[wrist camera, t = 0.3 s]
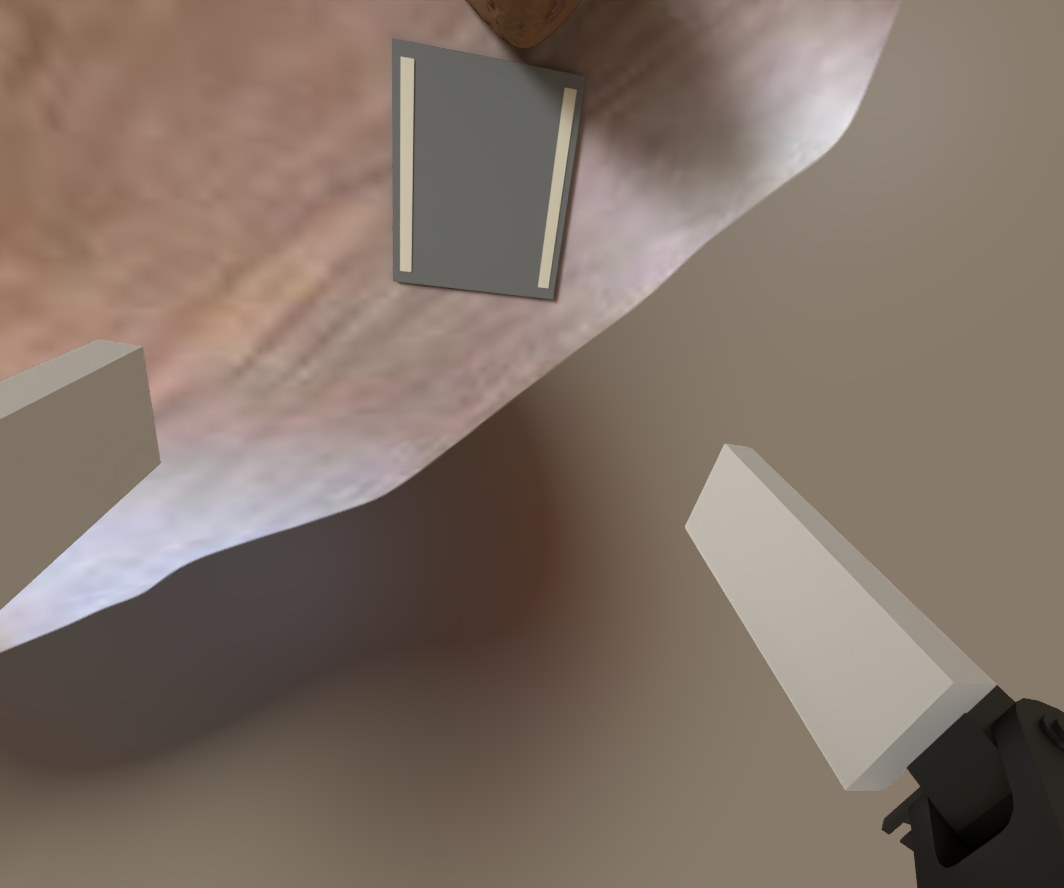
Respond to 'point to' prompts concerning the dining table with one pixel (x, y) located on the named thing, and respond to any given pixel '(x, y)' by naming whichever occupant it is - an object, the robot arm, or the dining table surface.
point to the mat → (480, 169)
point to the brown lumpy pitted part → (524, 18)
